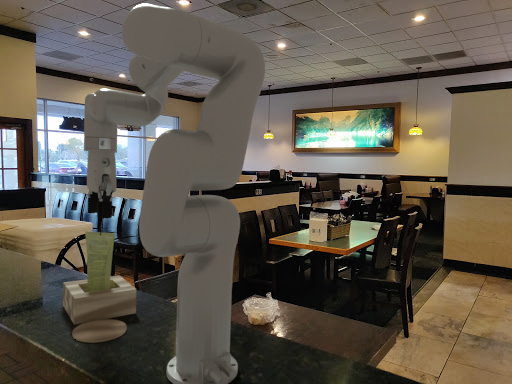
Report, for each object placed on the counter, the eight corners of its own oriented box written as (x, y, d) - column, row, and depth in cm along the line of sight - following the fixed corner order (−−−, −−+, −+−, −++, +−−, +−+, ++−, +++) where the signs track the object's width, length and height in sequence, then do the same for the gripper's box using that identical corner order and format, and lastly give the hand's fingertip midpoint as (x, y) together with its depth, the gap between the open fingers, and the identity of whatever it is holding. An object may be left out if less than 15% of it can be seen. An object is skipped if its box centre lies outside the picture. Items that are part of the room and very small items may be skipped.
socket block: (135, 313, 96) (136, 289, 95) (74, 324, 87) (74, 298, 87) (119, 296, 107) (119, 275, 107) (63, 305, 99) (63, 282, 98)
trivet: (133, 335, 83) (133, 332, 83) (78, 347, 77) (78, 344, 77) (118, 318, 92) (118, 315, 92) (67, 327, 86) (67, 325, 86)
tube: (107, 304, 101) (108, 229, 100) (114, 309, 97) (115, 232, 96) (84, 308, 98) (85, 231, 96) (90, 314, 94) (91, 234, 92)
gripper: (127, 146, 90) (125, 219, 91) (107, 147, 104) (105, 210, 105) (93, 144, 86) (91, 221, 87) (76, 145, 100) (75, 211, 101)
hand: (99, 215), depth 96 cm, fingers open, 9 cm apart
